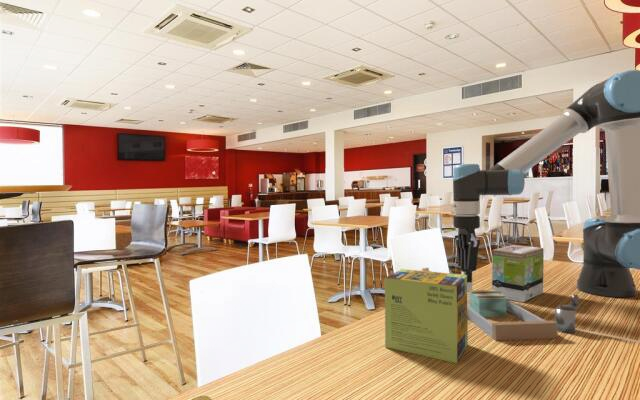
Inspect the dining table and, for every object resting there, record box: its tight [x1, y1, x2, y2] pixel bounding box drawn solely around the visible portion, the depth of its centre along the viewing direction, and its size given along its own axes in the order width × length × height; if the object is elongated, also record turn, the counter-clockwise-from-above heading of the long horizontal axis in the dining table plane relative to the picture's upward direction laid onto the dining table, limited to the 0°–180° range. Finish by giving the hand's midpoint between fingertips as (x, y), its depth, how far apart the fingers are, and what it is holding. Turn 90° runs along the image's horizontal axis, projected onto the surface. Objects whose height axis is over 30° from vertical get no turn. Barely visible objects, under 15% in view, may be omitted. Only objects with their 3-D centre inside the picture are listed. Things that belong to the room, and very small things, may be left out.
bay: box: [467, 299, 558, 341], centre depth 96 cm, size 14×22×4 cm, turn 2°
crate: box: [468, 289, 507, 318], centre depth 104 cm, size 7×7×6 cm
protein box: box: [384, 268, 469, 364], centre depth 83 cm, size 10×15×16 cm
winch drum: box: [554, 294, 579, 334], centre depth 90 cm, size 5×4×8 cm
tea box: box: [491, 244, 545, 303], centre depth 119 cm, size 15×10×15 cm, turn 131°
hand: (467, 291), depth 117 cm, fingers closed
